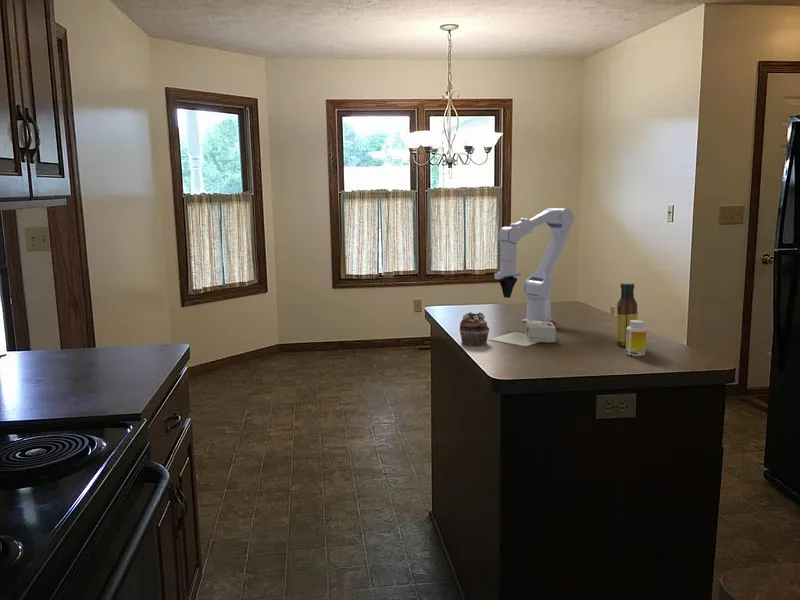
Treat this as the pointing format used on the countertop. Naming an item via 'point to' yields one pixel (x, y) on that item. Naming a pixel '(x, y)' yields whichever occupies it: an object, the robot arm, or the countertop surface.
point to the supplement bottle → (636, 338)
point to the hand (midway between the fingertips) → (507, 297)
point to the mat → (514, 339)
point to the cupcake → (474, 330)
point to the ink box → (540, 331)
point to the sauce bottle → (625, 311)
